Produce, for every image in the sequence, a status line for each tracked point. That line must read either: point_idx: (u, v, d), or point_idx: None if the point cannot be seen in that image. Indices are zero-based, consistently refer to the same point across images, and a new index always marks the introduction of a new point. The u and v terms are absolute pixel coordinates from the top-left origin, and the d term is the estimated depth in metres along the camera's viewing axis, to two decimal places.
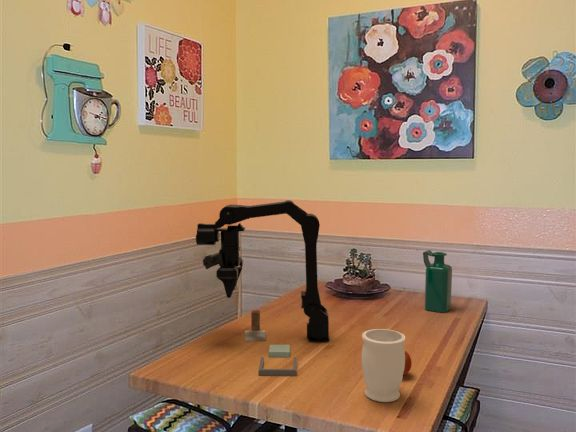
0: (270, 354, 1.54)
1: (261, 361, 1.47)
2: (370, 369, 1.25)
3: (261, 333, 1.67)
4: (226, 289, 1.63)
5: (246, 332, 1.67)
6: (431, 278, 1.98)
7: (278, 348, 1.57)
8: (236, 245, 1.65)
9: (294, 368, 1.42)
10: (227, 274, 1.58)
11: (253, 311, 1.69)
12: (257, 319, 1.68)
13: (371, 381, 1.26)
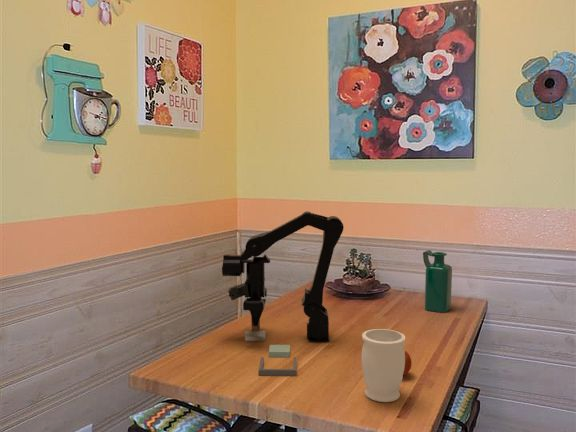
0: (270, 354, 1.54)
1: (261, 361, 1.47)
2: (370, 369, 1.25)
3: (261, 333, 1.67)
4: (253, 318, 1.67)
5: (246, 332, 1.67)
6: (431, 278, 1.98)
7: (278, 348, 1.57)
8: (262, 277, 1.66)
9: (294, 368, 1.42)
10: (254, 307, 1.59)
11: None
12: None
13: (371, 381, 1.26)
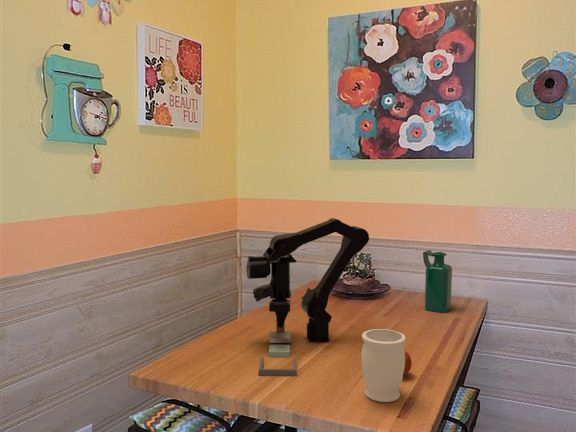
0: (270, 354, 1.54)
1: (261, 361, 1.47)
2: (370, 369, 1.25)
3: (286, 335, 1.64)
4: (278, 319, 1.63)
5: (271, 334, 1.64)
6: (431, 278, 1.98)
7: (278, 348, 1.57)
8: (288, 277, 1.63)
9: (294, 368, 1.42)
10: (280, 308, 1.56)
11: None
12: None
13: (371, 381, 1.26)
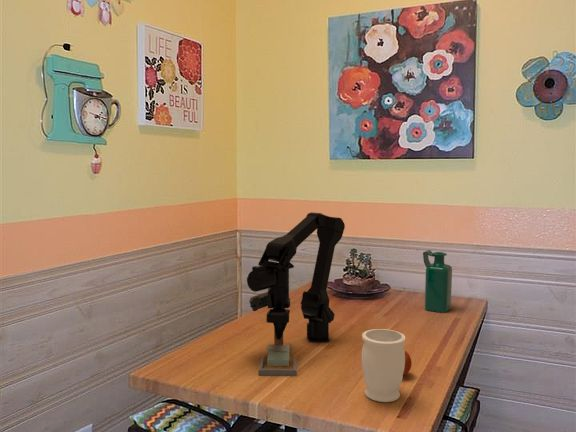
0: (269, 362, 1.48)
1: (261, 361, 1.47)
2: (370, 369, 1.25)
3: (285, 348, 1.53)
4: (276, 330, 1.52)
5: (269, 347, 1.53)
6: (431, 278, 1.98)
7: (277, 355, 1.51)
8: None
9: (294, 368, 1.42)
10: (278, 319, 1.45)
11: None
12: None
13: (371, 381, 1.26)
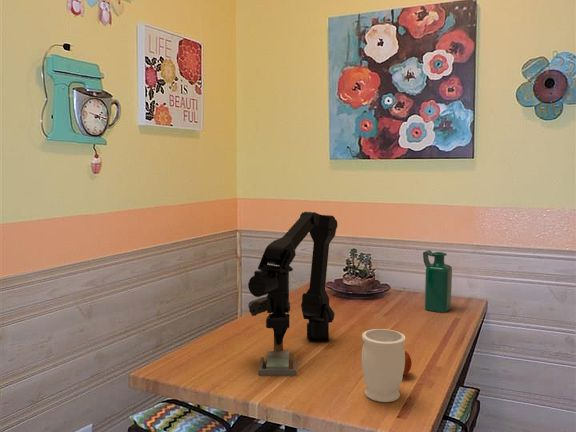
0: None
1: (261, 361, 1.47)
2: (370, 369, 1.25)
3: (285, 354, 1.49)
4: (276, 336, 1.48)
5: (268, 353, 1.49)
6: (431, 278, 1.98)
7: (276, 361, 1.47)
8: None
9: (294, 368, 1.42)
10: (278, 324, 1.41)
11: None
12: None
13: (371, 381, 1.26)
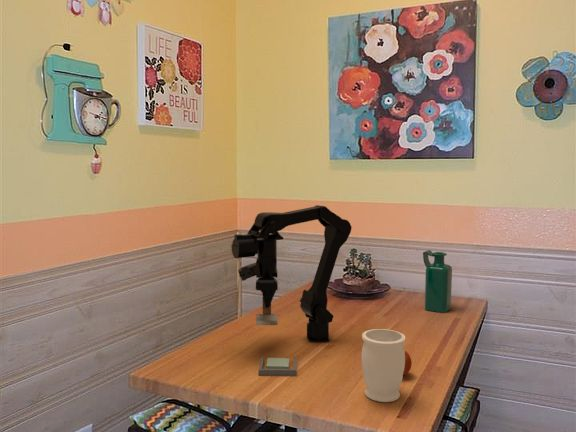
0: (267, 368, 1.44)
1: (261, 361, 1.47)
2: (370, 369, 1.25)
3: (273, 317, 1.58)
4: (265, 299, 1.57)
5: (257, 316, 1.58)
6: (431, 278, 1.98)
7: (276, 361, 1.47)
8: (276, 254, 1.58)
9: (294, 368, 1.42)
10: (267, 286, 1.50)
11: None
12: None
13: (371, 381, 1.26)
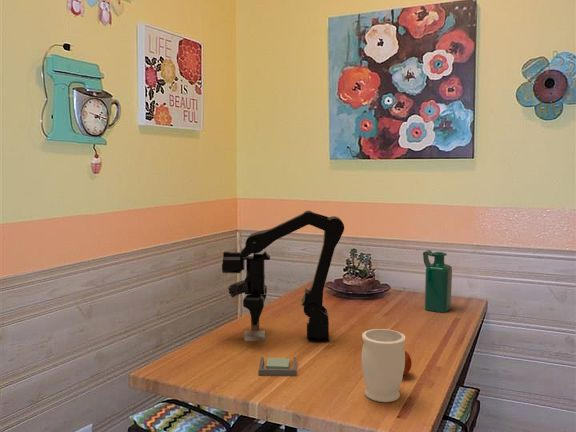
0: (267, 368, 1.44)
1: (261, 361, 1.47)
2: (370, 369, 1.25)
3: (260, 333, 1.67)
4: (252, 317, 1.64)
5: (246, 332, 1.67)
6: (431, 278, 1.98)
7: (276, 361, 1.47)
8: (262, 273, 1.66)
9: (294, 368, 1.42)
10: (254, 303, 1.59)
11: None
12: None
13: (371, 381, 1.26)
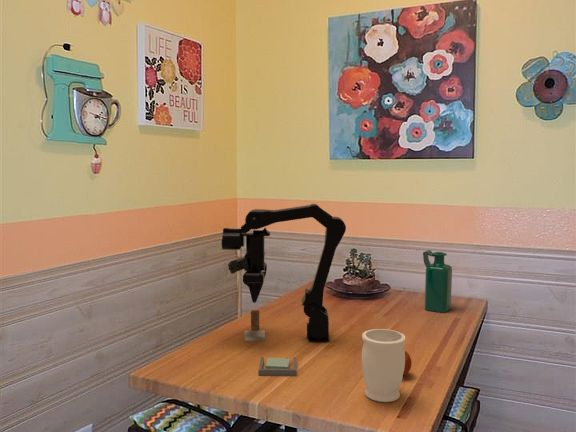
0: (267, 368, 1.44)
1: (261, 361, 1.47)
2: (370, 369, 1.25)
3: (260, 333, 1.67)
4: (252, 294, 1.63)
5: (246, 332, 1.67)
6: (431, 278, 1.98)
7: (276, 361, 1.47)
8: (262, 250, 1.65)
9: (294, 368, 1.42)
10: (253, 279, 1.58)
11: (253, 311, 1.69)
12: (257, 319, 1.68)
13: (371, 381, 1.26)
